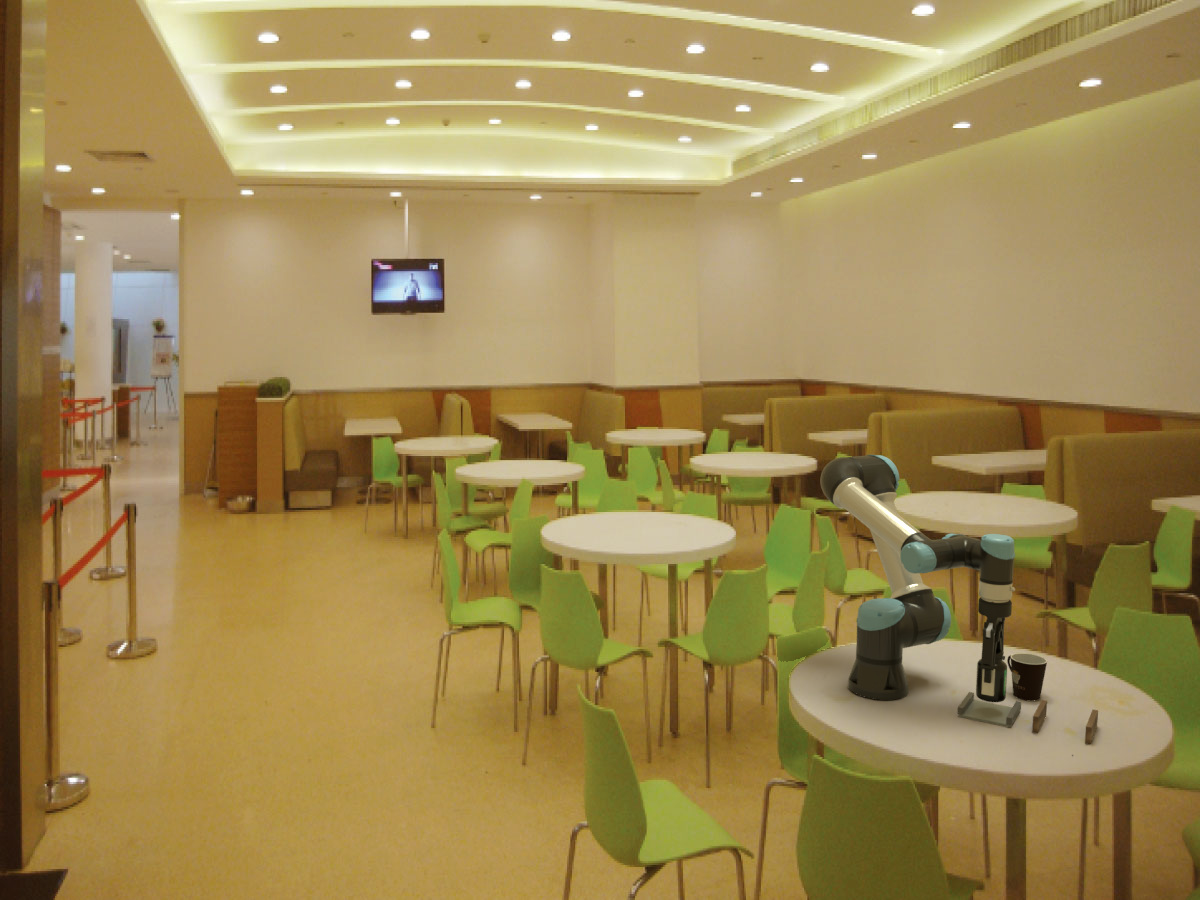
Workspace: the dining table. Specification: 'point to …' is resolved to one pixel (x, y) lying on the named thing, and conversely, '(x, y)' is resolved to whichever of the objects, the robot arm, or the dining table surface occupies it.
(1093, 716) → the walnut cradle
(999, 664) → the supplement bottle
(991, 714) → the slate pad
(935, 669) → the dining table surface
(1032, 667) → the coffee mug
